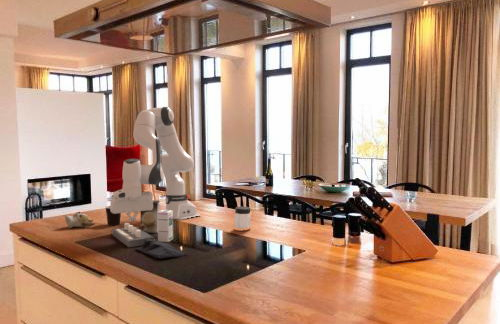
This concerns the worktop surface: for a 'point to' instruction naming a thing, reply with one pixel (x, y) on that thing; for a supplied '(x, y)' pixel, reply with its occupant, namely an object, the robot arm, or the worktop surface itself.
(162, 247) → the dark slate chunk
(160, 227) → the syrup box
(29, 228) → the worktop surface
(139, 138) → the robot arm
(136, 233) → the breaker paddles
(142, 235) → the breaker panel
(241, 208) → the jar
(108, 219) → the coffee mug
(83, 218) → the ceramic sculpture
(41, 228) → the worktop surface
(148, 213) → the coffee box
